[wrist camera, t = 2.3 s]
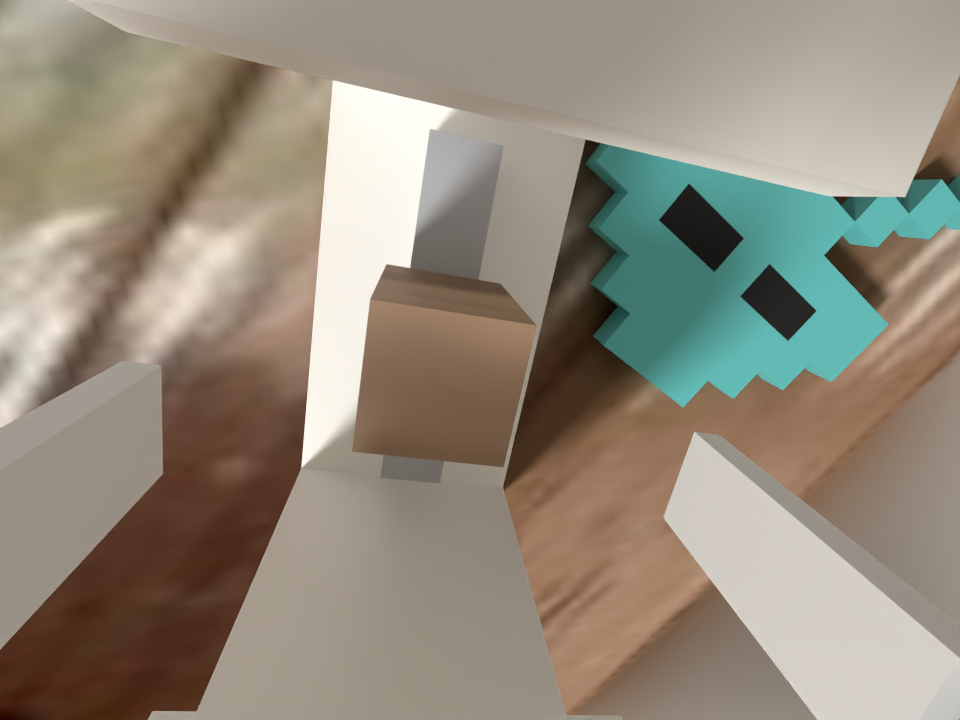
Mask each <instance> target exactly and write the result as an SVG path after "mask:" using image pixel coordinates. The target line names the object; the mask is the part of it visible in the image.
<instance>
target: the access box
mask: <svg viewBox="0 0 960 720" xmlns="http://www.w3.org/2000/svg"><path fill="white" fill-rule="evenodd" d="M68 1H70V2H72V3H73V4H75V5H77V6H79V7H81V8H83V9H85V10H86V11H88V12H90V13H92V14H94V15H96V16H97V17H99V18H101V19H103V20H105V21H107V22H109V23H110V24H112V25H114V26H116V27H118V28H120V29H121V30H123V31H125V32H128V33H133V34H137V35H141V36H145V37H150V38H154V39H158V40H163V41H167V42H171V43H175V44H180V45H184V46H188V47H192V48H197V49H201V50H205V51H210V52H214V53H218V54H222V55H227V56H231V57H235V58H240V59H244V60H248V61H252V62H257V63H261V64H265V65H269V66H274V67H278V68H282V69H287V70H291V71H295V72H299V73H304V74H308V75H312V76H317V77H321V78H325V79H329V80H333V87H332V100H331V112H330V124H329V136H328V149H327V161H326V173H325V185H324V198H323V210H322V222H321V234H320V247H319V259H318V271H317V284H316V296H315V308H314V320H313V333H312V345H311V357H310V369H309V382H308V394H307V406H306V418H305V431H304V443H303V455H302V468H301V470H300V473H299V475H298V477H297V480H296V482H295V484H294V487H293V489H292V491H291V494H290V496H289V498H288V501H287V503H286V505H285V508H284V510H283V512H282V514H281V517H280V519H279V521H278V524H277V526H276V528H275V531H274V533H273V535H272V538H271V540H270V542H269V545H268V547H267V549H266V552H265V554H264V556H263V559H262V561H261V563H260V566H259V568H258V570H257V573H256V575H255V577H254V580H253V582H252V584H251V587H250V589H249V591H248V594H247V596H246V598H245V600H244V603H243V605H242V607H241V610H240V612H239V614H238V617H237V619H236V621H235V624H234V626H233V628H232V631H231V633H230V635H229V638H228V640H227V642H226V645H225V647H224V649H223V652H222V654H221V656H220V659H219V661H218V663H217V666H216V668H215V670H214V673H213V675H212V677H211V680H210V682H209V684H208V686H207V689H206V691H205V693H204V696H203V698H202V700H201V703H200V705H199V707H198V710H197V712H186V711H152V713H151V715H150V717H149V719H148V720H623V719H622V716H601V715H599V716H598V715H566V712H565V709H564V705H563V701H562V698H561V694H560V691H559V687H558V683H557V680H556V676H555V673H554V669H553V665H552V662H551V658H550V655H549V651H548V648H547V644H546V640H545V637H544V633H543V630H542V626H541V622H540V619H539V615H538V612H537V608H536V604H535V601H534V597H533V594H532V590H531V586H530V583H529V579H528V576H527V572H526V569H525V565H524V561H523V558H522V554H521V551H520V547H519V543H518V540H517V536H516V533H515V529H514V525H513V522H512V518H511V515H510V511H509V507H508V504H507V500H506V497H505V493H504V490H503V485H504V480H505V476H506V472H507V468H508V464H509V459H510V455H511V451H512V447H513V443H514V438H515V434H516V430H517V426H518V422H519V417H520V413H521V409H522V405H523V401H524V396H525V392H526V388H527V384H528V380H529V375H530V371H531V367H532V363H533V359H534V354H535V350H536V346H537V342H538V338H539V333H540V329H541V325H542V321H543V317H544V312H545V308H546V304H547V300H548V296H549V291H550V287H551V283H552V279H553V275H554V270H555V266H556V262H557V258H558V254H559V249H560V245H561V241H562V237H563V233H564V228H565V224H566V220H567V216H568V212H569V207H570V203H571V199H572V195H573V191H574V186H575V182H576V178H577V174H578V169H579V165H580V161H581V157H582V153H583V148H584V144H585V140H590V141H595V142H599V143H603V144H607V145H612V146H616V147H620V148H625V149H629V150H633V151H637V152H642V153H646V154H650V155H655V156H659V157H663V158H667V159H672V160H676V161H680V162H684V163H689V164H693V165H697V166H702V167H706V168H710V169H714V170H719V171H723V172H727V173H732V174H736V175H740V176H744V177H749V178H753V179H757V180H761V181H766V182H770V183H774V184H779V185H783V186H787V187H791V188H796V189H800V190H804V191H809V192H813V193H817V194H821V195H826V196H852V197H905V196H906V194H907V192H908V189H909V187H910V185H911V183H912V180H913V178H914V176H915V174H916V171H917V169H918V167H919V165H920V163H921V160H922V158H923V156H924V154H925V151H926V149H927V147H928V145H929V142H930V140H931V138H932V136H933V134H934V131H935V129H936V127H937V125H938V122H939V120H940V118H941V116H942V113H943V111H944V109H945V107H946V104H947V102H948V100H949V98H950V96H951V93H952V91H953V89H954V87H955V84H956V82H957V80H958V78H959V75H960V0H68ZM386 264H389V265H395V266H401V267H407V268H413V269H418V270H424V271H430V272H436V273H442V274H447V275H453V276H459V277H465V278H471V279H477V280H482V281H488V282H494V283H500V284H501V285H502V286H503V287H504V288H505V289H506V291H507V292H508V293H509V294H510V295H511V296H512V297H513V299H514V300H515V301H516V302H517V303H518V304H519V306H520V307H521V308H522V309H523V310H524V311H525V312H526V314H527V315H528V316H529V317H530V318H531V319H532V320H533V322H534V323H535V324H536V325H537V327H536V332H535V336H534V340H533V345H532V349H531V353H530V357H529V362H528V366H527V370H526V374H525V379H524V383H523V387H522V391H521V396H520V400H519V404H518V408H517V413H516V417H515V421H514V425H513V430H512V434H511V438H510V442H509V447H508V451H507V455H506V459H505V464H504V467H496V466H486V465H476V464H467V463H457V462H447V461H437V460H428V459H418V458H408V457H399V456H389V455H379V454H369V453H360V452H352V448H353V439H354V431H355V422H356V414H357V405H358V397H359V388H360V380H361V372H362V363H363V355H364V346H365V338H366V329H367V321H368V312H369V304H370V298H371V296H372V294H373V292H374V290H375V288H376V285H377V283H378V281H379V279H380V277H381V275H382V273H383V270H384V268H385V266H386Z"/></svg>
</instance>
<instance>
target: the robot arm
mask: <svg viewBox="0 0 960 720" xmlns="http://www.w3.org/2000/svg"><path fill="white" fill-rule="evenodd" d="M162 474H163V449H162V390H161V366H160V365H152V364H144V363H136V362H128V361H121V362H120V363H118V364H116V365H114V366H112V367H111V368H109V369H107V370H105V371H103V372H102V373H100V374H98V375H96V376H94V377H93V378H91V379H89V380H87V381H85V382H83V383H82V384H80V385H78V386H76V387H74V388H73V389H71V390H69V391H67V392H65V393H64V394H62V395H60V396H58V397H56V398H55V399H53V400H51V401H49V402H47V403H45V404H44V405H42V406H40V407H38V408H36V409H35V410H33V411H31V412H29V413H27V414H26V415H24V416H22V417H20V418H18V419H16V420H15V421H13V422H11V423H9V424H7V425H6V426H4V427H2V428H0V649H1V648H2V647H3V646H4V645H5V644H6V643H7V642H8V640H9V639H10V638H11V637H12V636H13V635H14V634H15V633H16V632H17V631H18V630H19V629H20V628H21V626H22V625H23V624H24V623H25V622H26V621H27V620H28V619H29V618H30V617H31V616H32V615H33V613H34V612H35V611H36V610H37V609H38V608H39V607H40V606H41V605H42V604H43V603H44V602H45V601H46V599H47V598H48V597H49V596H50V595H51V594H52V593H53V592H54V591H55V590H56V589H57V588H58V586H59V585H60V584H61V583H62V582H63V581H64V580H65V579H66V578H67V577H68V576H69V575H70V573H71V572H72V571H73V570H74V569H75V568H76V567H77V566H78V565H79V564H80V563H81V562H82V561H83V559H84V558H85V557H86V556H87V555H88V554H89V553H90V552H91V551H92V550H93V549H94V548H95V546H96V545H97V544H98V543H99V542H100V541H101V540H102V539H103V538H104V537H105V536H106V535H107V534H108V532H109V531H110V530H111V529H112V528H113V527H114V526H115V525H116V524H117V523H118V522H119V521H120V519H121V518H122V517H123V516H124V515H125V514H126V513H127V512H128V511H129V510H130V509H131V508H132V507H133V505H134V504H135V503H136V502H137V501H138V500H139V499H140V498H141V497H142V496H143V495H144V494H145V492H146V491H147V490H148V489H149V488H150V487H151V486H152V485H153V484H154V483H155V482H156V481H157V480H158V478H159V477H160V476H161V475H162ZM664 519H665V520H666V522H667V523H668V524H669V526H670V527H671V528H672V530H673V531H674V532H675V534H676V535H677V536H678V537H679V539H680V540H681V541H682V543H683V544H684V545H685V547H686V548H687V549H688V551H689V552H690V553H691V555H692V556H693V557H694V558H695V560H696V561H697V562H698V564H699V565H700V566H701V568H702V569H703V570H704V572H705V573H706V574H707V575H708V577H709V578H710V579H711V581H712V582H713V583H714V585H715V586H716V587H717V589H718V590H719V591H720V592H721V594H722V595H723V596H724V598H725V599H726V600H727V602H728V603H729V604H730V606H731V607H732V608H733V610H734V611H735V612H736V614H737V615H738V616H739V617H740V619H741V620H742V621H743V623H744V624H745V625H746V627H747V628H748V629H749V630H750V632H751V633H752V634H753V636H754V637H755V638H756V640H757V641H758V642H759V644H760V645H761V646H762V648H763V649H764V650H765V652H766V653H767V654H768V655H769V657H770V658H771V659H772V661H773V662H774V663H775V664H776V666H777V667H778V669H779V670H780V671H781V672H782V674H783V675H784V676H785V678H786V679H787V680H788V682H789V683H790V684H791V686H792V687H793V688H794V689H795V691H796V692H797V693H798V695H799V696H800V697H801V699H802V700H803V701H804V703H805V704H806V705H807V707H808V708H809V709H810V710H811V712H812V713H813V714H814V716H815V717H816V718H817V720H960V625H959V624H958V623H956V622H955V621H954V620H952V619H951V618H950V617H949V616H948V615H946V614H945V613H944V612H943V611H941V610H940V609H939V608H937V607H936V606H935V605H934V604H933V603H931V602H930V601H929V600H927V599H926V598H925V597H924V596H922V595H921V594H920V593H918V592H917V591H916V590H915V589H913V588H912V587H911V586H910V585H908V584H907V583H906V582H905V581H903V580H902V579H901V578H900V577H898V576H897V575H896V574H895V573H893V572H892V571H891V570H889V569H888V568H887V567H886V566H884V565H883V564H882V563H881V562H879V561H878V560H877V559H876V558H874V557H873V556H872V555H871V554H869V553H868V552H867V551H865V550H864V549H863V548H862V547H860V546H859V545H858V544H857V543H855V542H854V541H853V540H852V539H850V538H849V537H848V536H847V535H845V534H844V533H843V532H841V531H840V530H839V529H838V528H836V527H835V526H834V525H833V524H831V523H830V522H829V521H828V520H826V519H825V518H824V517H822V516H821V515H820V514H819V513H817V512H816V511H815V510H813V509H812V508H811V507H810V506H809V505H807V504H806V503H805V502H804V501H802V500H801V499H800V498H798V497H797V496H796V495H795V494H793V493H792V492H791V491H790V490H788V489H787V488H786V487H785V486H783V485H782V484H781V483H780V482H778V481H777V480H776V479H774V478H773V477H772V476H771V475H769V474H768V473H767V472H766V471H764V470H763V469H762V468H761V467H759V466H758V465H757V464H756V463H754V462H753V461H752V460H750V459H749V458H748V457H747V456H745V455H744V454H743V453H742V452H740V451H739V450H738V449H737V448H735V447H734V446H733V445H731V444H730V443H729V442H728V441H726V440H725V439H724V438H723V437H721V436H720V435H715V434H707V433H699V432H694V434H693V437H692V440H691V443H690V445H689V448H688V451H687V454H686V457H685V459H684V462H683V465H682V468H681V470H680V473H679V476H678V479H677V482H676V484H675V487H674V490H673V493H672V495H671V498H670V501H669V504H668V507H667V509H666V512H665V515H664Z"/></svg>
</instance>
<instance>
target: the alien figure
mask: <svg viewBox="0 0 960 720" xmlns="http://www.w3.org/2000/svg"><path fill="white" fill-rule="evenodd" d="M585 164H586V165H587V166H588V167H589V168H590V169H591V170H592V171H593V172H594V173H595V174H596V175H597V176H599V177H600V178H601V179H602V180H603V181H604V182H605V183H606V184H607V185H608V186H609V187H610V188H611V189H613V190H614V191H615V192H614V194H613V195H612V196H611V197H610V199H609V200H608V201H607V202H606V204H605V205H604V206H603V208H602V209H601V210H600V211H599V213H598V214H597V215H596V216H595V218H594V219H593V220H592V221H591V223H590V224H589V225H588V227H589V228H590V229H591V230H593V231H594V232H595V233H596V234H597V235H598V236H599V237H601V238H602V239H603V240H604V241H605V242H606V243H607V244H609V245H610V246H611V247H612V248H613V249H614V250H615V251H616V253H615V254H614V255H613V256H612V257H611V259H610V260H609V261H608V262H607V264H606V265H605V266H604V267H603V269H602V270H601V271H600V272H599V273H598V275H597V276H596V277H595V278H594V280H593V281H592V282H591V283H590V284H592V285H593V286H594V287H595V288H596V289H598V290H599V291H600V292H601V293H602V294H604V295H605V296H606V297H607V298H608V299H610V300H611V301H612V302H613V303H615V304H616V305H617V306H618V307H617V308H616V309H615V310H614V311H613V313H612V314H611V315H610V316H609V317H608V319H607V320H606V321H605V322H604V323H603V325H602V326H601V327H600V328H599V329H598V330H597V332H596V333H595V334H594V335H593V337H594V338H595V339H597V340H598V341H599V342H600V343H601V344H602V345H604V346H605V347H606V348H608V349H609V350H610V351H611V352H613V353H614V354H615V355H616V356H618V357H619V358H620V359H622V360H623V361H624V362H625V363H627V364H628V365H629V366H631V367H632V368H633V369H634V370H636V371H637V372H638V373H639V374H641V375H642V376H643V377H645V378H646V379H647V380H648V381H650V382H651V383H652V384H654V385H655V386H656V387H657V388H659V389H660V390H661V391H663V392H664V393H665V394H666V395H668V396H669V397H670V398H671V399H673V400H674V401H675V402H677V403H678V404H679V405H680V406H682V407H684V406H685V405H686V404H687V403H688V402H689V400H690V399H691V398H692V397H693V396H694V395H695V394H696V393H697V392H698V391H699V390H700V389H701V387H702V386H703V385H704V384H705V383H706V382H707V381H709V382H710V383H711V384H713V385H714V386H715V387H716V388H718V389H719V390H721V391H722V392H724V393H725V394H727V395H728V396H730V397H731V398H733V399H734V397H735V396H736V395H737V394H738V393H739V392H740V391H741V390H742V389H743V388H744V387H745V386H746V385H747V384H748V383H749V382H750V381H751V380H752V379H753V378H754V376H755V375H756V374H757V375H759V376H760V377H761V378H762V379H763V380H765V381H767V382H769V383H770V384H772V385H774V386H776V387H778V388H779V389H781V390H784V389H785V387H786V386H787V385H788V384H789V383H790V382H791V381H792V380H793V379H794V378H795V377H796V376H797V375H798V374H799V373H800V372H801V371H802V370H803V369H804V368H806V369H807V370H808V371H809V372H811V373H813V374H816V375H818V376H820V377H822V378H824V379H826V380H828V381H831V382H832V381H833V380H834V379H835V378H836V377H837V376H838V375H839V374H840V373H841V372H842V371H843V370H844V369H845V368H846V367H847V366H848V365H849V364H850V363H851V362H852V361H853V360H854V359H855V358H856V357H857V356H858V355H859V354H860V353H861V352H862V351H863V350H864V349H865V348H866V347H867V346H868V345H869V344H870V343H871V342H872V341H873V340H874V339H875V338H876V337H877V336H878V335H879V334H880V333H881V332H882V331H883V330H884V329H885V328H886V327H887V326H888V325H889V324H888V323H887V322H886V321H885V320H884V319H883V318H882V317H881V316H880V315H879V314H878V313H877V312H876V311H875V309H874V308H873V307H872V306H871V305H870V304H869V303H868V302H867V301H866V300H865V299H864V298H863V297H862V296H861V295H860V294H859V292H858V291H857V290H856V289H855V288H854V287H853V286H852V285H851V284H850V283H849V282H848V281H847V280H846V279H845V278H844V276H843V275H842V274H841V273H840V272H839V271H838V270H837V269H836V268H835V267H834V266H833V265H832V264H831V263H830V262H829V260H828V259H827V258H826V257H825V256H824V255H825V254H826V253H827V252H828V250H829V249H830V248H831V247H832V246H833V245H834V244H835V243H836V242H837V241H838V240H839V239H840V237H841V236H843V237H844V238H845V239H846V240H847V241H848V242H849V243H850V244H855V245H863V246H871V247H878V246H879V245H880V244H881V243H882V242H883V241H884V240H885V239H886V238H887V236H888V235H889V234H890V233H891V232H892V231H893V230H895V232H896V233H897V234H898V235H899V236H901V237H911V238H922V239H931V237H932V236H933V235H934V234H935V233H936V232H937V231H938V230H939V229H940V228H941V227H942V226H943V225H944V224H945V225H946V227H947V228H948V229H956V230H960V174H959V175H958V176H957V177H956V178H955V179H954V180H953V181H952V182H951V183H950V184H949V185H948V186H947V185H946V184H945V183H944V181H943V180H942V179H929V180H912V183H911V185H910V187H909V189H908V192H907V194H906V196H905V197H852V196H850V197H849V198H848V199H847V200H846V201H845V202H844V203H843V204H842V206H841V205H840V204H839V203H838V202H837V201H836V200H835V199H834V197H833V196H826V195H821V194H817V193H813V192H809V191H804V190H800V189H796V188H791V187H787V186H783V185H779V184H774V183H770V182H766V181H761V180H757V179H753V178H749V177H744V176H740V175H736V174H732V173H727V172H723V171H719V170H714V169H710V168H706V167H702V166H697V165H693V164H689V163H684V162H680V161H676V160H672V159H667V158H663V157H659V156H655V155H650V154H646V153H642V152H637V151H633V150H629V149H625V148H620V147H616V146H612V145H607V144H603V143H600V145H599V146H598V147H597V149H596V150H595V151H594V153H593V154H592V155H591V157H590V158H589V159H588V160H587V162H586V163H585Z"/></svg>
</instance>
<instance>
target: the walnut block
mask: <svg viewBox="0 0 960 720" xmlns="http://www.w3.org/2000/svg"><path fill="white" fill-rule="evenodd" d="M536 327H537V325H536V324H535V323H534V322H533V320H532V319H531V318H530V317H529V316H528V315H527V314H526V312H525V311H524V310H523V309H522V308H521V307H520V306H519V304H518V303H517V302H516V301H515V300H514V299H513V297H512V296H511V295H510V294H509V293H508V292H507V291H506V289H505V288H504V287H503V286H502V285H501V284H500V283H494V282H488V281H482V280H477V279H471V278H465V277H459V276H453V275H447V274H442V273H436V272H430V271H424V270H418V269H413V268H407V267H401V266H395V265H389V264H386V266H385V268H384V270H383V273H382V275H381V277H380V279H379V281H378V283H377V285H376V288H375V290H374V292H373V294H372V296H371V298H370V304H369V312H368V321H367V329H366V338H365V346H364V355H363V363H362V372H361V380H360V388H359V397H358V405H357V414H356V422H355V431H354V439H353V448H352V452H360V453H369V454H379V455H389V456H399V457H408V458H418V459H428V460H437V461H447V462H457V463H467V464H476V465H486V466H496V467H504V464H505V459H506V455H507V451H508V447H509V442H510V438H511V434H512V430H513V425H514V421H515V417H516V413H517V408H518V404H519V400H520V396H521V391H522V387H523V383H524V379H525V374H526V370H527V366H528V362H529V357H530V353H531V349H532V345H533V340H534V336H535V332H536Z"/></svg>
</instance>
